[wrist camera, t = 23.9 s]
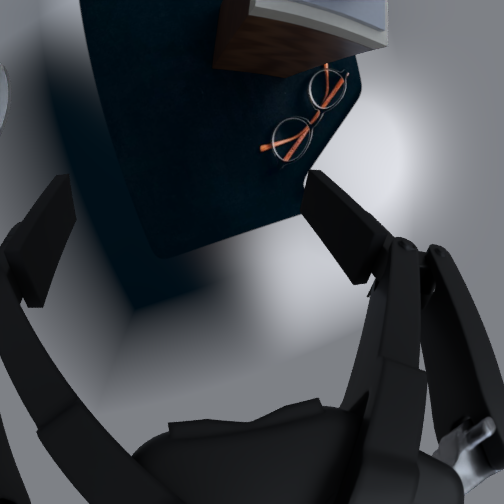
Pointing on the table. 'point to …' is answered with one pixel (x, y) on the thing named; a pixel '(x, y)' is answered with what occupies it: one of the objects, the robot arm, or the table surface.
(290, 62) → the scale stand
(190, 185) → the table surface
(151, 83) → the table surface
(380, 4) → the scale
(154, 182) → the table surface
